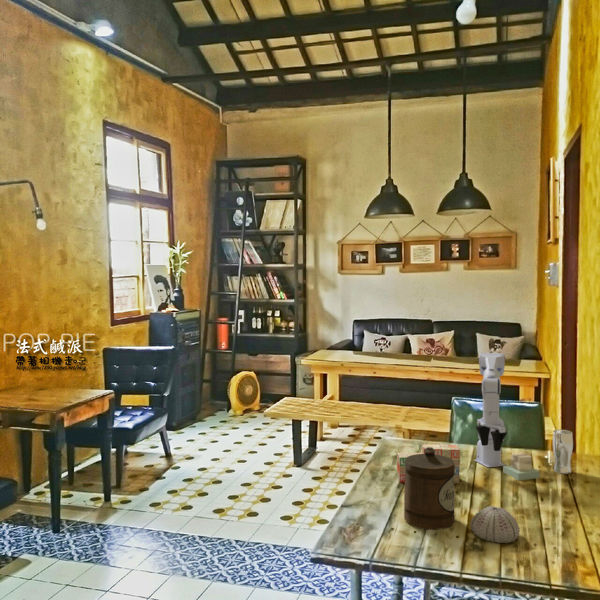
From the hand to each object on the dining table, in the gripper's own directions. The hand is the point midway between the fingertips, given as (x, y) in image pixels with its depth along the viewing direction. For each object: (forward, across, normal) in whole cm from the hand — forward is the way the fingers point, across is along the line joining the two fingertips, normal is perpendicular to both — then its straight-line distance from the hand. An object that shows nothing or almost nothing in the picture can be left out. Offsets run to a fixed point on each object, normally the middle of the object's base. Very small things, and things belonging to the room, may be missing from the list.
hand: (490, 447), depth 225 cm
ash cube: (+8, +2, +11) cm, 14 cm away
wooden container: (+11, +29, -42) cm, 52 cm away
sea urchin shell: (+11, +45, -30) cm, 55 cm away
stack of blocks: (+11, -4, -24) cm, 26 cm away
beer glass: (+10, +4, +29) cm, 31 cm away
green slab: (+11, +3, +11) cm, 16 cm away
